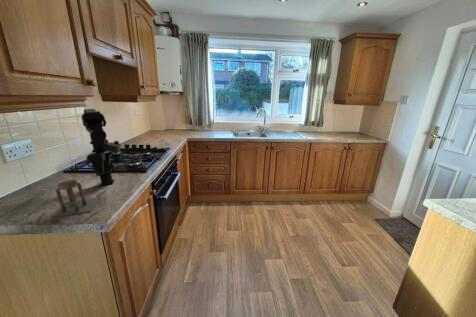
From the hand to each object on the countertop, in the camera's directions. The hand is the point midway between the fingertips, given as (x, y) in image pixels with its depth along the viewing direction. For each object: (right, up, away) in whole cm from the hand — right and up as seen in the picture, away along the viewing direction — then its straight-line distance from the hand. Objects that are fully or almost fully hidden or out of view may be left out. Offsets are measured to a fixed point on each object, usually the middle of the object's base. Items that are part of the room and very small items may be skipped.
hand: (105, 169), depth 102 cm
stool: (-7, -17, -11) cm, 21 cm away
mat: (-7, -17, -9) cm, 20 cm away
